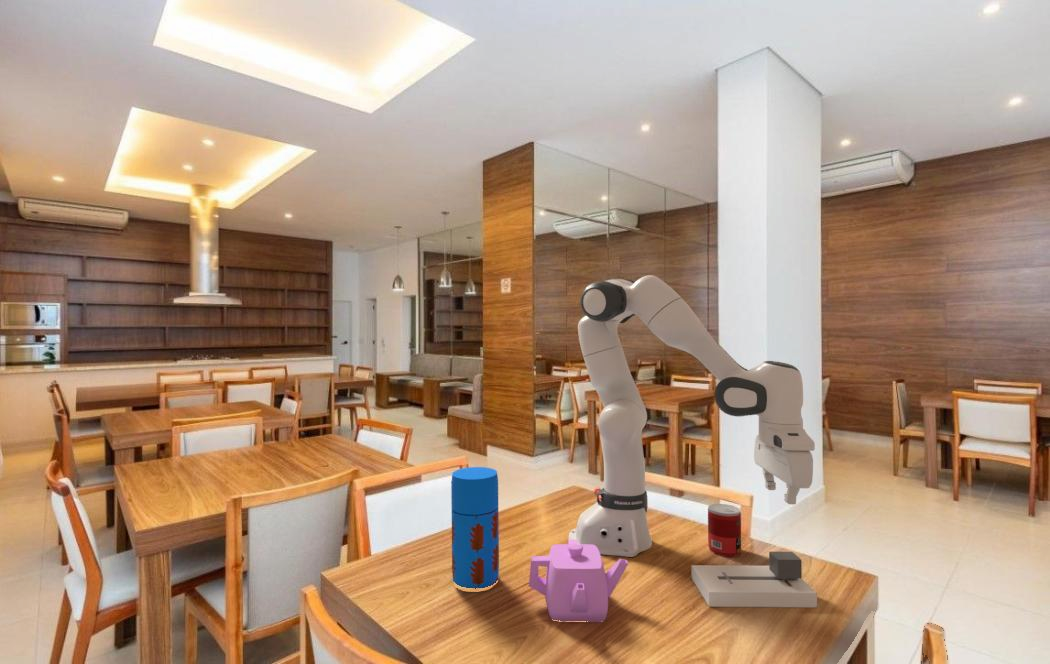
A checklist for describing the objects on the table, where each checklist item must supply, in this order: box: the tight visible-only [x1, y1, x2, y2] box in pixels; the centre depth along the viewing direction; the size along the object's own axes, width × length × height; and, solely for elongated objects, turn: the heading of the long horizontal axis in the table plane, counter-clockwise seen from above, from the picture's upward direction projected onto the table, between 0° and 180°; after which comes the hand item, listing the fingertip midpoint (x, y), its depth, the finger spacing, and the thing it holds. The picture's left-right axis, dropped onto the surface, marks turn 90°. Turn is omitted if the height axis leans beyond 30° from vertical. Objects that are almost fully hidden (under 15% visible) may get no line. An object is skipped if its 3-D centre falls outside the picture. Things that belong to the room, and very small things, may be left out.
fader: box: [768, 551, 803, 579], centre depth 108 cm, size 5×4×5 cm
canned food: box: [707, 503, 742, 558], centre depth 130 cm, size 8×8×11 cm
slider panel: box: [691, 564, 818, 608], centre depth 109 cm, size 22×12×3 cm, turn 88°
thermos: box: [450, 466, 500, 589], centre depth 115 cm, size 11×11×25 cm
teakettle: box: [528, 538, 629, 623], centre depth 104 cm, size 17×17×12 cm
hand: (779, 496), depth 111 cm, fingers open, 8 cm apart
